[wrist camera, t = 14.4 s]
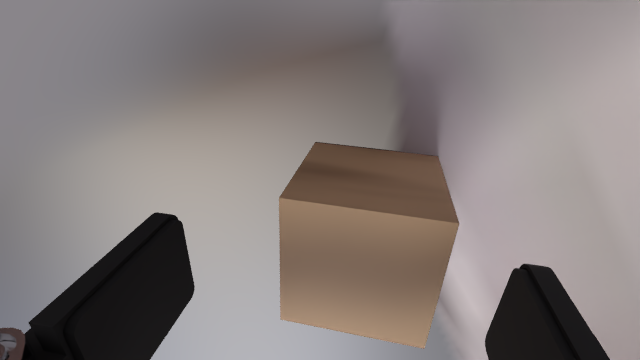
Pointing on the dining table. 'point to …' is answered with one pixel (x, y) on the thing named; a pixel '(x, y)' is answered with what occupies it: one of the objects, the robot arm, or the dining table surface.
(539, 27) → the dining table surface
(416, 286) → the cube
